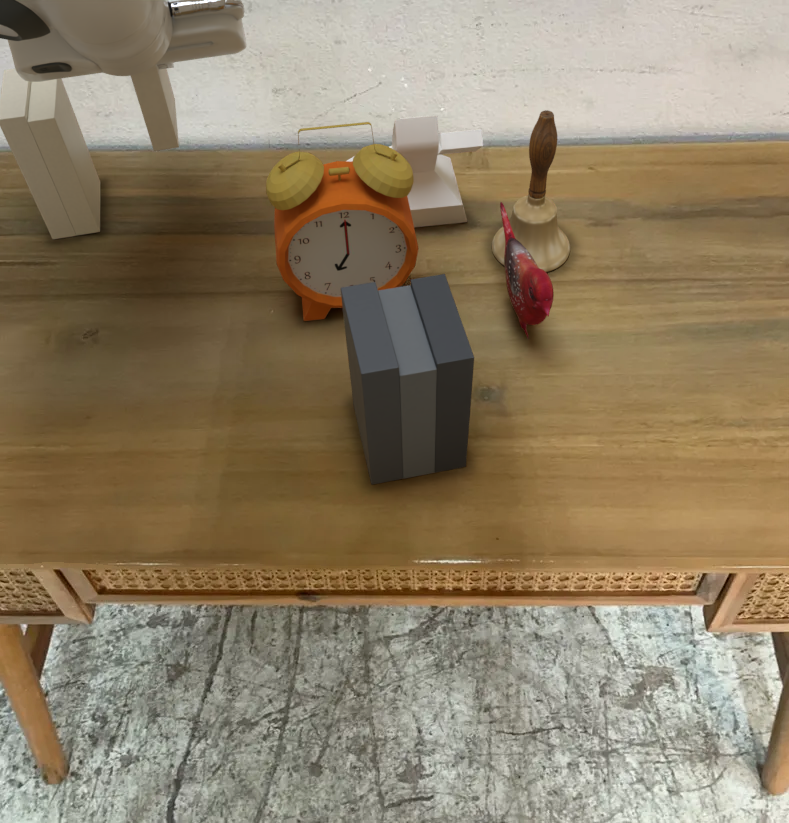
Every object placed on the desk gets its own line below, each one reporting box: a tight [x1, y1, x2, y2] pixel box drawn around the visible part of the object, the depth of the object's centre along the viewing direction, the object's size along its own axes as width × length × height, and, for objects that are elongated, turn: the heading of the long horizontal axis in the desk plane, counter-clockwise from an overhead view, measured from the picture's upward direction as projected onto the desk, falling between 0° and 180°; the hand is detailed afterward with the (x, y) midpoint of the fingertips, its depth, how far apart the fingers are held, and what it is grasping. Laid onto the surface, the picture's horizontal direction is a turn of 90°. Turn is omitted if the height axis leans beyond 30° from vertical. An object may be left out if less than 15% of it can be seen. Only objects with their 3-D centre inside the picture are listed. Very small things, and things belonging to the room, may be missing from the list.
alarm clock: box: [265, 121, 419, 322], centre depth 77 cm, size 13×6×20 cm, turn 97°
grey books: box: [341, 273, 475, 485], centre depth 69 cm, size 8×9×15 cm
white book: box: [130, 65, 180, 152], centre depth 83 cm, size 3×9×14 cm, turn 12°
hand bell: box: [491, 110, 571, 273], centre depth 83 cm, size 8×8×16 cm
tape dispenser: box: [346, 115, 484, 228], centre depth 88 cm, size 8×14×14 cm, turn 97°
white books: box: [0, 68, 101, 240], centre depth 89 cm, size 5×9×15 cm, turn 12°
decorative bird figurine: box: [499, 201, 554, 340], centre depth 80 cm, size 3×18×10 cm, turn 9°
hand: (144, 63), depth 81 cm, fingers closed on white book, 2 cm apart
